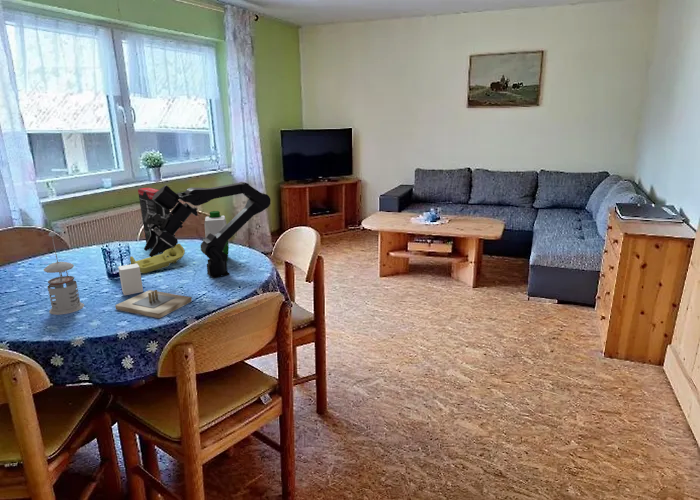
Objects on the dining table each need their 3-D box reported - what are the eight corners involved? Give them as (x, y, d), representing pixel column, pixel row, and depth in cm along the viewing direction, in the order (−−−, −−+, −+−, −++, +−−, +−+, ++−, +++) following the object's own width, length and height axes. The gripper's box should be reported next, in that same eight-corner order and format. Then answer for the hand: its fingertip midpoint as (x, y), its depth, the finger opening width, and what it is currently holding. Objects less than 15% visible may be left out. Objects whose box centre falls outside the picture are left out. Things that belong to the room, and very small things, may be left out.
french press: (46, 316, 142) (29, 237, 135) (52, 303, 152) (36, 229, 145) (82, 311, 146) (68, 233, 139) (86, 298, 156) (72, 225, 149)
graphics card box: (176, 250, 211) (169, 190, 203) (161, 253, 206) (153, 192, 198) (159, 243, 222) (151, 186, 214) (144, 246, 217) (136, 188, 210)
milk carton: (229, 255, 201) (225, 210, 195) (229, 262, 192) (225, 214, 187) (208, 257, 199) (203, 211, 193) (207, 263, 191) (202, 215, 185)
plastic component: (139, 269, 178) (129, 253, 183) (140, 283, 182) (130, 267, 187) (188, 255, 190) (177, 240, 195) (188, 268, 195) (177, 254, 200)
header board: (150, 294, 159) (148, 281, 158) (191, 301, 152) (190, 288, 151) (115, 309, 147) (113, 295, 145) (159, 318, 140) (157, 303, 138)
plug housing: (140, 287, 165) (137, 263, 163) (143, 291, 161) (139, 267, 159) (122, 291, 162) (118, 266, 160) (124, 295, 158) (120, 270, 156)
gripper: (152, 199, 167) (123, 234, 165) (163, 207, 152) (131, 245, 149) (177, 218, 173) (149, 251, 171) (190, 228, 158) (160, 264, 156)
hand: (147, 253), depth 162 cm, fingers open, 9 cm apart
